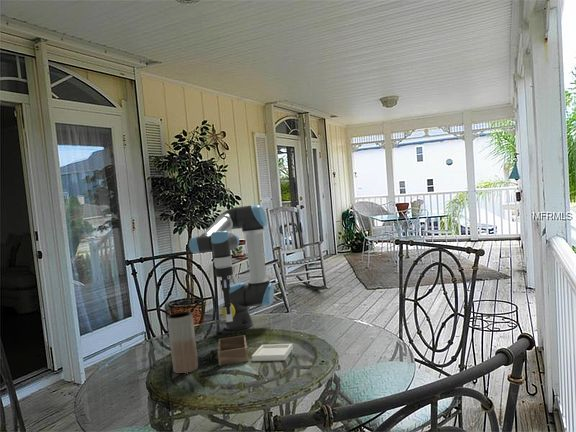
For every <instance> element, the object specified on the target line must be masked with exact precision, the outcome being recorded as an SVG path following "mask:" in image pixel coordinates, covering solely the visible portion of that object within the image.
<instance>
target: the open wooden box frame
mask: <svg viewBox="0 0 576 432" xmlns="http://www.w3.org/2000/svg"><path fill="white" fill-rule="evenodd" d="M217 342H218V343H217V344H218V345H217V360H218V366H225V365H231V364H238V363H244V362H249V355H248V347H247V346H248V345H247V339H246V335H245V334H244V335H235V336H229V337H223V338H218V341H217Z"/></svg>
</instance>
